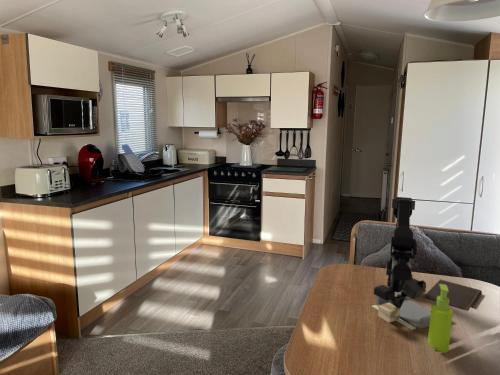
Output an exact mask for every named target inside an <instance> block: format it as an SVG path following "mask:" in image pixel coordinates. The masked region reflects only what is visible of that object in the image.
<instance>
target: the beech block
mask: <svg viewBox="0 0 500 375" xmlns="http://www.w3.org/2000/svg"><path fill="white" fill-rule="evenodd" d="M378 306H379V307H378V310H377V311H378V312H377V316H378V317H379V318H381V319H382V320H384V321H386V322H387V323H392V322H395V321H396V320H399V318H400V308H398V307H396V306H394V305H393V304H391V303H386V304H382V305H379V304H378ZM400 319H401V318H400ZM396 322H397V321H396Z"/></svg>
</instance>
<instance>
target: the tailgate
mask: <svg viewBox="0 0 500 375" xmlns="http://www.w3.org/2000/svg"><path fill="white" fill-rule="evenodd" d="M371 307H372V308H374V309H375V310H377V311H378V307H379V305H378V304H373V305H371ZM396 322H398V323H399V324H401V325H403V326H405V327H406V328H408V329H410V330H411V331H413V330H415V329H416V326H414V325H413V324H410V323H408V321H407V322H406V321H405V320H403V319H401V318H399V320H396Z"/></svg>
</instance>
